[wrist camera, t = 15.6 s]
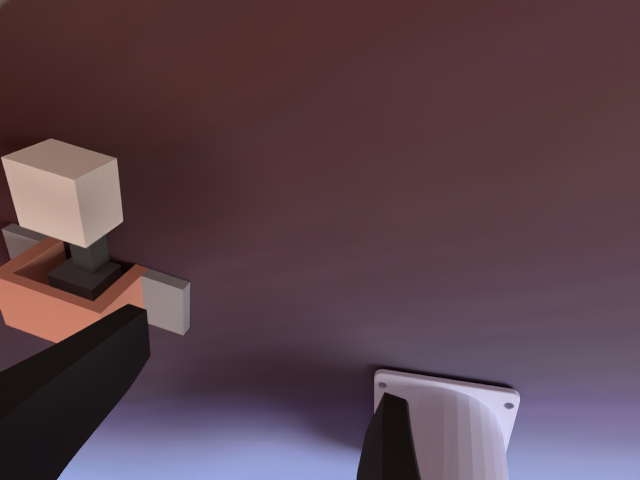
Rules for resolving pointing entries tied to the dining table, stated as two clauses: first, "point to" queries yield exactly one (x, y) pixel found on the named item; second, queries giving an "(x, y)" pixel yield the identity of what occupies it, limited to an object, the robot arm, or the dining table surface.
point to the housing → (73, 311)
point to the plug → (69, 209)
